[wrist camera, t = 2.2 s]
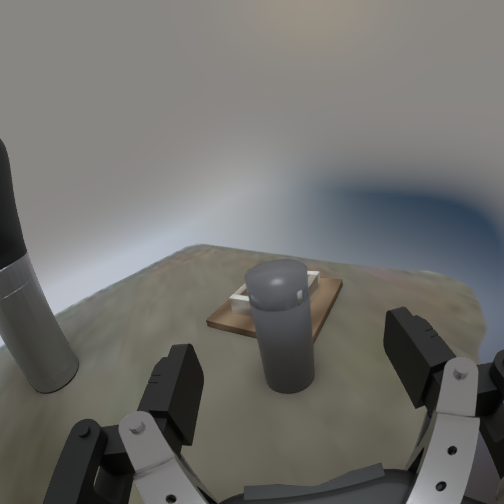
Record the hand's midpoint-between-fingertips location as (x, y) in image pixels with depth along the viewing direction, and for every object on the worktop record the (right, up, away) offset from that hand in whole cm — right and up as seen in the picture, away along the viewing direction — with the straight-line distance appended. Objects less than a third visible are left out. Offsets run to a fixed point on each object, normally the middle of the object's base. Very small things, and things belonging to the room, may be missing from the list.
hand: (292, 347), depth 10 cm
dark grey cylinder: (+2, -9, +16) cm, 18 cm away
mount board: (+2, -4, +29) cm, 29 cm away
